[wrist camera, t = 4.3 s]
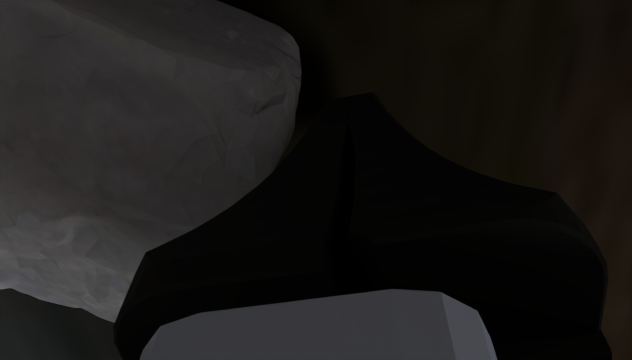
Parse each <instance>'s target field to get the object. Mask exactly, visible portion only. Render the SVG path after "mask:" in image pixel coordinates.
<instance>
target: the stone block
mask: <svg viewBox="0 0 632 360" xmlns="http://www.w3.org/2000/svg"><path fill="white" fill-rule="evenodd" d="M301 71H302V70H301V63H300V54H299V47H298V45H297V43H296V42H295V40H294V38H293V36H291V35H290V34H289V33H288V32H286V31H285V30H284V29H282V28H281V27H280V26H278V25H276V24H273V23H271V22H269V21H266V20H264V19H261V18H259V17H257V16H255V15H253V14H251V13H249V12H246V11H244V10H241V9H238V8H236V7H233V6H231V5H228V4H225V3H223V2H220V1H218V0H0V289H6V288H13V289H15V290H17V291H19V292H21V293H25V294H28V295H31V296H33V297H36V298H38V299H40V300H44V301H48V302H52V303H57V304H61V305H65V306H69V307H76V308H83V309H85V310H87V311H89V312H91V313H92V314H94V315H96V316H98V317H100V318H103V319H106V320H109V321H112V322H115V321H116V318H117V316H118V313H119V311H120V308H121V306H122V304H123V301H124V299H125V296H126V294H127V292H128V289H129V287H130V284H131V282H132V280H133V277H134V275H135V273H136V271H137V269H138V267H139V265H140V262H141V260H142V258H143V256H144V255H145V253H146V252H147V251H149V250H152V249H154V248H156V247H158V246H160V245H162V244H165V243H167V242H169V241H171V240H173V239H175V238H177V237H179V236H181V235H183V234H185V233H187V232H189V231H191V230H193V229H195V228H197V227H198V226H200V225H202V224H203V223H205V222H207V221H209V220H210V219H212V218H214V217H215V216H217V215H218V214H220V213H221V212H223V211H225V210H226V209H228V208H229V207H231V206H232V205H233V204H235V203H236V202H237V201H239V200H240V199H241V198H242V197H244V196H245V195H246V194H248V193H249V192H250V191H252V190H253V189H254V188H256V187H257V186H258V185H259V184H260V183H261V182H262V181H264V180H265V179H266V178H267V177H268V176H269V175H270V174H271V173H272V172H273V171H274V170H275V169H276V167H277V165H278V163H279V161H280V159H281V157H282V155H283V153H284V152H285V150H286V148H287V146H288V144H289V142H290V139H291V137H292V134H293V132H294V129H295V115H296V109H297V105H298V97H299V92H300V86H301Z"/></svg>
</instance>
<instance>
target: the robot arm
mask: <svg viewBox="0 0 632 360" xmlns="http://www.w3.org/2000/svg"><path fill="white" fill-rule="evenodd" d="M607 284H608V276H607V263H606V261H605V259H604V257H603V255H602V253H601V251H600V249H599V247H598V245H597V243H596V242H595V240H594V238H593V237H592V235H591V234H590V232H589V231H588V229H587V228H586V227H585V225H584V224H583V223H582V222H581V220H580V219H579V218H578V217H577V216H576V214H575V213H574V212H573V211H572V210H571V209H570V207H569V206H568V205H567V204H566V203H565V202H564V201H563V199H562V198H561V197H560V196H559V195H558V194H557V193H555V192H550V191H545V190H540V189H535V188H530V187H525V186H521V185H516V184H511V183H508V182H504V181H501V180H498V179H495V178H491V177H488V176H485V175H482V174H480V173H477V172H474V171H472V170H469V169H467V168H465V167H463V166H460V165H458V164H456V163H454V162H452V161H450V160H448V159H446V158H444V157H442V156H440V155H439V154H437V153H435V152H434V151H432V150H430V149H429V148H428V147H426V146H425V145H423V144H422V143H421V142H420V141H418V140H417V139H416V138H415V137H413V136H412V135H411V134H410V133H409V132H408V131H407V130H405V129H404V128H403V127H402V126H401V125H400V124H399V123H398V122H397V121H396V120H395V119H394V118H393V117H392V115H391V114H390V113H389V112H388V111H387V110H386V108H385V107H384V106H383V104H382V103H381V101H380V100H379V98H378V96H377V95H375V94H374V93H373V92H371V93H366V94H360V95H355V96H349V97H343V98H338V99H332V100H327V101H326V103H325V104H324V106H323V107H322V108H321V110H320V112H319V113H318V115H317V116H316V118H315V119H314V121H313V123H312V124H311V126H310V127H309V129H308V130H307V131H306V133H305V134H304V136H303V137H302V138H301V140H300V141H299V143H298V144H297V145H296V146H295V148H294V149H293V150H292V151H291V152H290V154H289V155H288V156H287V157H286V159H285V160H284V161H283V162H282V163H281V164H280V165H279V166H278V167H277V168H276V169H275V170H274V171H273V172H272V173H271V174H270V175H269V176H268V177H267V178H266V179H265V180H264V181H262V182H261V183H260V184H259V185H258V186H257V187H256V188H254V189H253V190H252V191H250V192H249V193H248V194H246V195H245V196H244V197H242V198H241V199H240V200H239V201H237V202H236V203H235V204H233V205H232V206H231V207H229V208H228V209H226V210H225V211H223V212H221V213H220V214H218V215H217V216H215V217H214V218H212V219H210V220H209V221H207V222H205V223H203V224H202V225H200V226H198V227H197V228H195V229H193V230H191V231H189V232H187V233H185V234H183V235H181V236H179V237H177V238H175V239H173V240H171V241H169V242H167V243H165V244H162V245H160V246H158V247H156V248H154V249H152V250H149V251H147V252H146V253H145V255H144V256H143V258H142V260H141V262H140V265H139V267H138V269H137V271H136V273H135V275H134V277H133V280H132V282H131V284H130V287H129V289H128V292H127V294H126V296H125V299H124V301H123V304H122V306H121V308H120V311H119V313H118V316H117V318H116V321H115V324H114V326H113V330H114V343H115V345H116V347H117V349H118V351H119V353H120V356H121V358H122V359H123V360H612V353H611V349H610V347H609V345H608V343H607V341H606V339H605V337H604V335H603V333H602V331H601V322H602V316H603V309H604V303H605V296H606V290H607Z"/></svg>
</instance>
